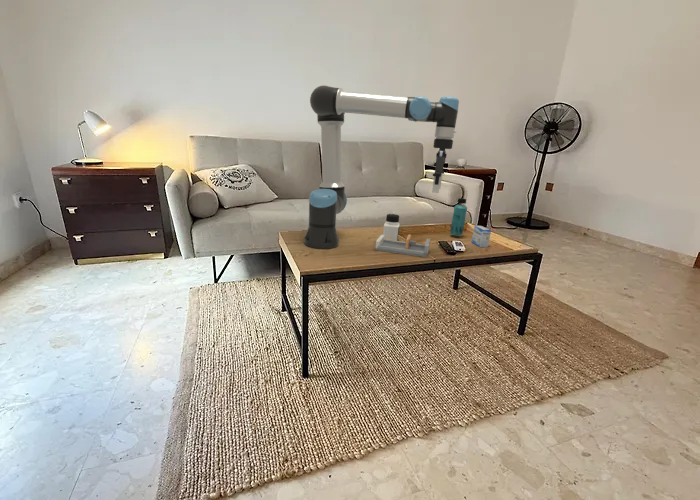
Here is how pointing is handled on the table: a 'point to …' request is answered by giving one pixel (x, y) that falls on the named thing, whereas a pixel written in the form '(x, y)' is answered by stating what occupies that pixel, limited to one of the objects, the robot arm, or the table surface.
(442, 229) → the table surface
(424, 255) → the lane
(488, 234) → the medicine box
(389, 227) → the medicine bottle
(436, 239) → the table surface
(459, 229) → the beverage bottle
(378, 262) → the table surface
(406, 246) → the pusher
